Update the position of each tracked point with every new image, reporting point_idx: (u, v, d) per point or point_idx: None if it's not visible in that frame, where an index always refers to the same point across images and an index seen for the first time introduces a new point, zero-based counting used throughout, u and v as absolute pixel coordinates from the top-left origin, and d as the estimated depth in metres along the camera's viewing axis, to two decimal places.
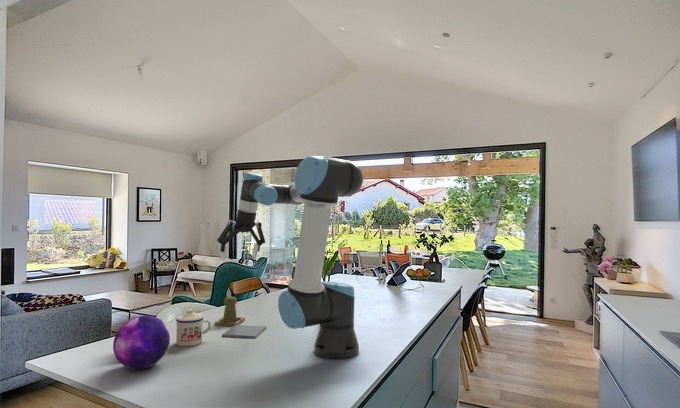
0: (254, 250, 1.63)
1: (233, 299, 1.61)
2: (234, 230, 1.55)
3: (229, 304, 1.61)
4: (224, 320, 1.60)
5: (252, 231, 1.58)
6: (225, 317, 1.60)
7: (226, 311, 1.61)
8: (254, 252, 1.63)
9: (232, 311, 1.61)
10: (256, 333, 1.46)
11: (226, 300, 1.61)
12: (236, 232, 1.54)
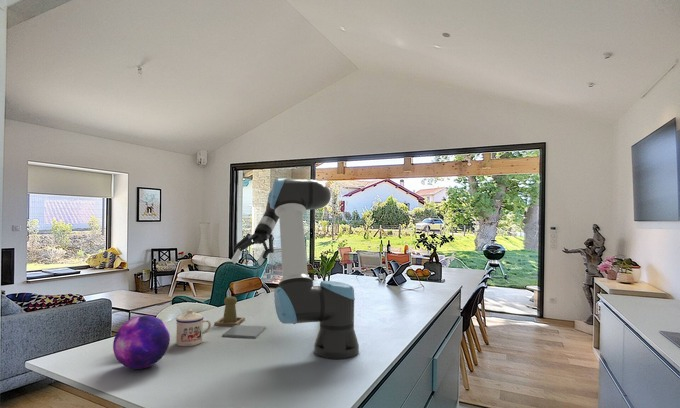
0: None
1: (233, 299, 1.61)
2: None
3: (229, 304, 1.61)
4: (224, 320, 1.60)
5: (262, 239, 1.76)
6: (225, 317, 1.60)
7: (226, 311, 1.61)
8: None
9: (232, 311, 1.61)
10: (256, 333, 1.46)
11: (226, 300, 1.61)
12: (249, 240, 1.78)
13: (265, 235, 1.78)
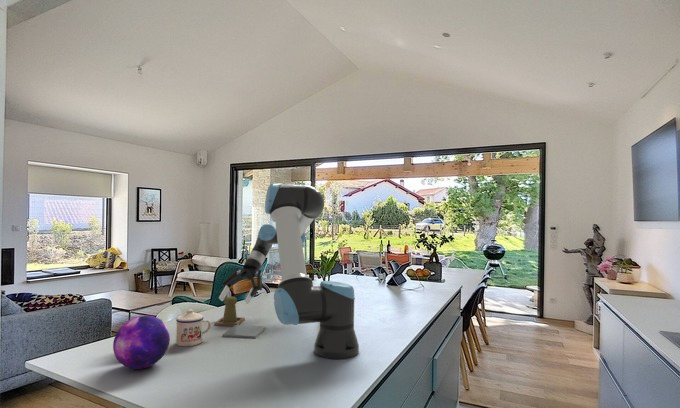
0: None
1: (233, 299, 1.61)
2: None
3: (229, 304, 1.61)
4: (224, 320, 1.60)
5: (250, 275, 1.73)
6: (225, 317, 1.60)
7: (226, 311, 1.61)
8: None
9: (232, 311, 1.61)
10: (256, 333, 1.46)
11: (226, 300, 1.61)
12: (237, 275, 1.75)
13: (254, 271, 1.75)
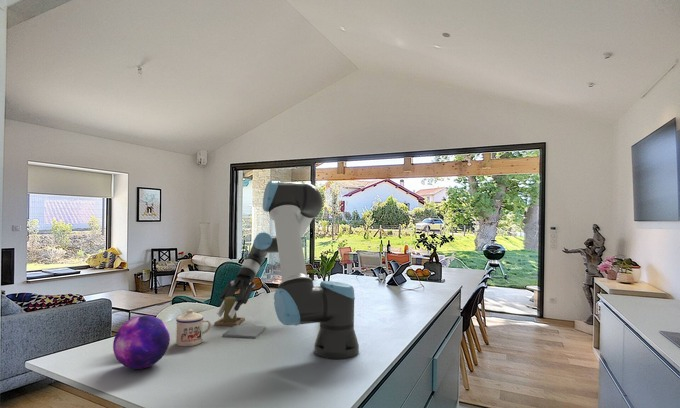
0: None
1: (233, 299, 1.61)
2: None
3: (229, 304, 1.61)
4: (224, 320, 1.60)
5: (241, 285, 1.67)
6: (225, 317, 1.60)
7: (226, 311, 1.61)
8: None
9: None
10: (256, 333, 1.46)
11: (226, 300, 1.61)
12: (233, 287, 1.68)
13: (248, 280, 1.69)
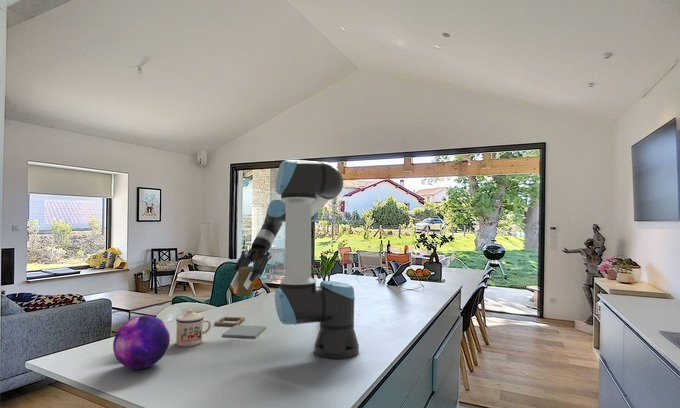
0: None
1: (248, 269, 1.50)
2: None
3: (244, 274, 1.49)
4: (238, 291, 1.49)
5: (256, 256, 1.56)
6: (240, 288, 1.49)
7: (241, 282, 1.49)
8: None
9: None
10: (256, 333, 1.46)
11: (241, 270, 1.50)
12: (247, 257, 1.57)
13: (263, 251, 1.58)
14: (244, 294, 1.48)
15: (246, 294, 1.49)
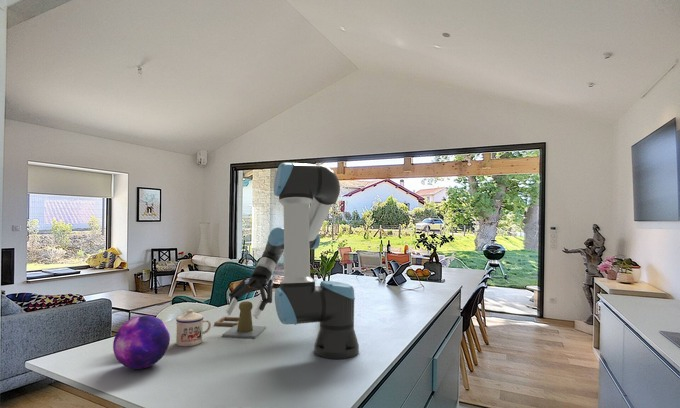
0: None
1: (249, 304, 1.48)
2: None
3: (244, 310, 1.48)
4: (239, 327, 1.47)
5: (259, 285, 1.54)
6: (240, 324, 1.47)
7: (241, 317, 1.48)
8: None
9: (247, 318, 1.48)
10: (256, 333, 1.46)
11: (241, 305, 1.48)
12: (246, 286, 1.56)
13: (264, 280, 1.56)
14: (244, 330, 1.47)
15: (247, 330, 1.47)
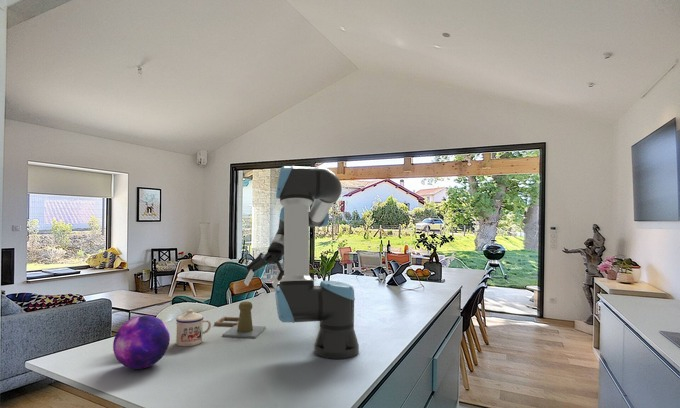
0: None
1: (249, 304, 1.48)
2: None
3: (244, 310, 1.48)
4: (239, 327, 1.47)
5: (276, 259, 1.66)
6: (240, 324, 1.47)
7: (241, 317, 1.48)
8: None
9: (247, 318, 1.48)
10: (256, 333, 1.46)
11: (241, 305, 1.48)
12: (262, 260, 1.68)
13: (279, 255, 1.68)
14: (244, 330, 1.47)
15: (246, 330, 1.47)
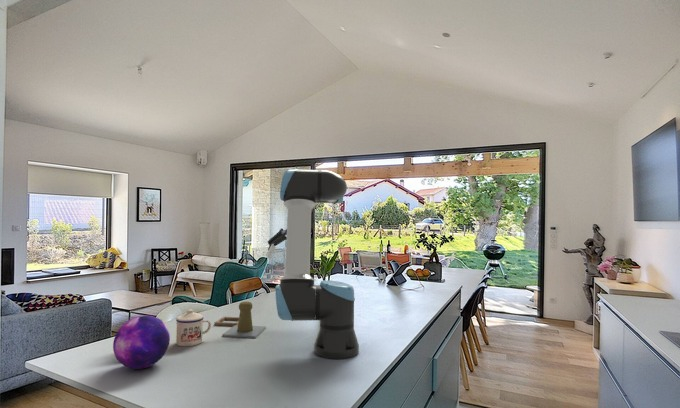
0: None
1: (249, 304, 1.48)
2: None
3: (244, 310, 1.48)
4: (239, 327, 1.47)
5: None
6: (240, 324, 1.47)
7: (241, 317, 1.48)
8: None
9: (247, 318, 1.48)
10: (256, 333, 1.46)
11: (241, 305, 1.48)
12: (283, 234, 1.76)
13: None
14: (244, 330, 1.47)
15: (246, 330, 1.47)
